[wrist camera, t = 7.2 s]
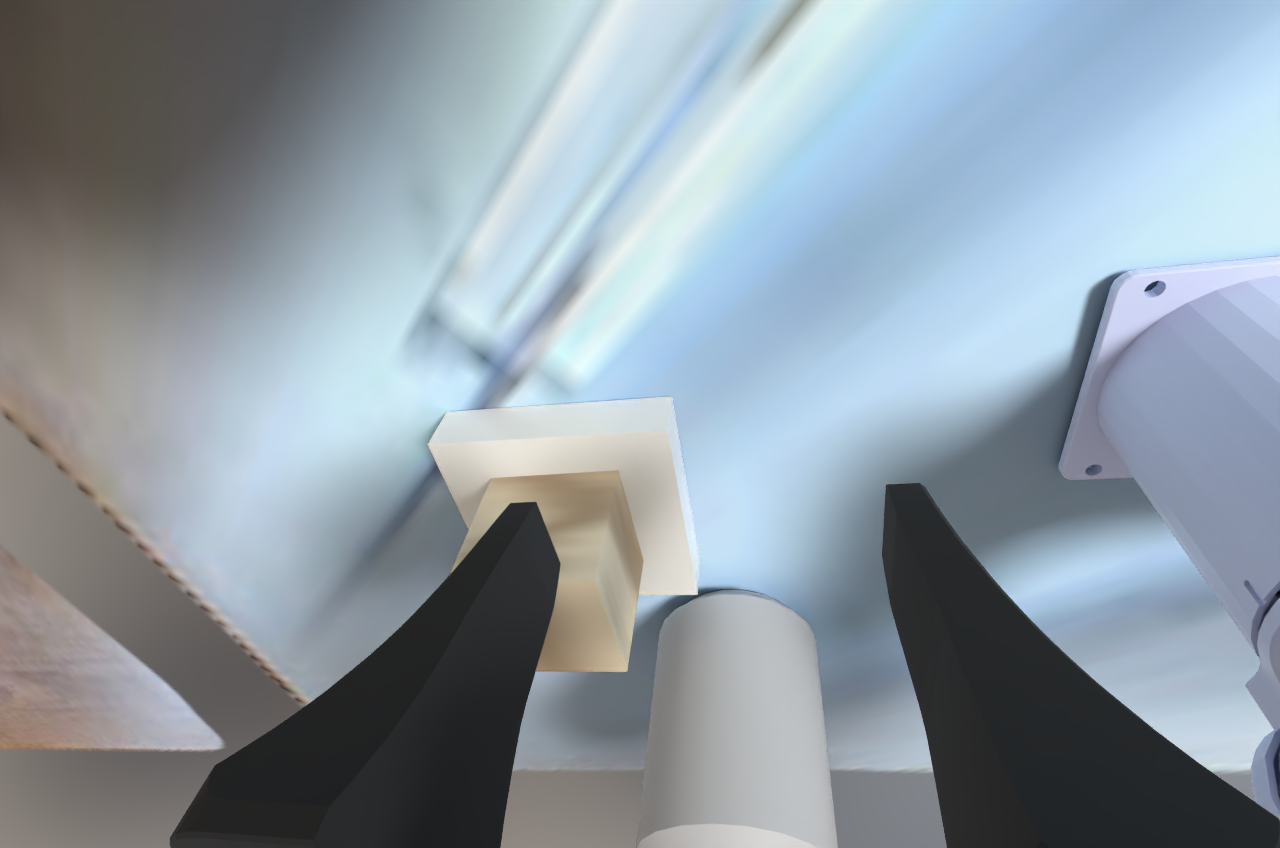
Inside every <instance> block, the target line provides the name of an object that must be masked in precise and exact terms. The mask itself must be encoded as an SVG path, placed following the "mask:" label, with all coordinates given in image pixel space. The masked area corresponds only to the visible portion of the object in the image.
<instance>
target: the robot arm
mask: <svg viewBox="0 0 1280 848" xmlns="http://www.w3.org/2000/svg"><path fill="white" fill-rule="evenodd" d="M1155 281H1159V282H1158V284H1157V285H1156V287H1154V288H1153V289H1152V290H1149V291H1144V290H1145V289H1146V287H1147V286H1148V285H1149V284H1151V283H1152V282H1155ZM1095 464H1096V465H1095ZM1091 465H1095V466H1093V467H1091V468H1087V467H1089V466H1091ZM1058 467H1059V471H1060V472H1061V474H1062V475H1063V477H1064V478H1066V479H1068V480H1092V479H1118V478H1134V479H1135V481H1136V482H1137V484H1138V485H1139V486H1140V488H1141V489H1142V491H1143V492H1144V494H1145V495H1146V496H1147V498H1148V499H1149V501H1150V502H1151V504H1152V505H1153V507H1154V508H1155V509H1156V511H1157V512H1158V514H1159V515H1160V517H1161V518H1162V519H1163V521H1164V522H1165V524H1166V525H1167V527H1168V528H1169V529H1170V531H1171V532H1172V534H1173V535H1174V537H1175V538H1176V540H1177V541H1178V542H1179V544H1180V545H1181V547H1182V548H1183V550H1184V551H1185V552H1186V554H1187V555H1188V557H1189V558H1190V560H1191V561H1192V562H1193V564H1194V565H1195V567H1196V568H1197V570H1198V571H1199V573H1200V574H1201V575H1202V577H1203V578H1204V580H1205V581H1206V583H1207V584H1208V585H1209V587H1210V588H1211V590H1212V591H1213V593H1214V594H1215V595H1216V597H1217V598H1218V600H1219V601H1220V603H1221V604H1222V605H1223V607H1224V608H1225V610H1226V611H1227V613H1228V614H1229V616H1230V617H1231V618H1232V620H1233V621H1234V623H1235V624H1236V626H1237V627H1238V628H1239V630H1240V631H1241V633H1242V634H1243V636H1244V637H1245V638H1246V640H1247V641H1248V643H1249V644H1250V646H1251V647H1252V649H1253V650H1254V651H1255V653H1256V654H1257V655H1258V656H1259V657H1260V667H1259V670H1258V671H1257V673H1256V674H1255V675H1254V676H1253V677H1252V678H1251V679H1250V680H1249V681H1248V682H1247V683H1246V685H1245V686H1246V687H1247V689H1248V691H1249V692H1250V694H1251V695H1252V697H1253V698H1254V700H1255V701H1256V703H1257V704H1258V706H1259V707H1260V709H1261V710H1262V712H1263V713H1264V715H1265V717H1266V718H1267V720H1268V721H1269V723H1270V724H1271V726H1272V727H1273V729H1274V731H1273V732H1271V733H1270V734H1268V735H1267V736H1266V737H1264V739H1263V740H1262V742H1261V743H1260V745H1259V746H1258V748H1257V749H1256V751H1255V754H1254V758H1253V762H1252V766H1251V778H1252V789H1253V793H1254V797H1255V802H1254V801H1253V800H1251V799H1250V798H1248V797H1247V796H1245V795H1244V794H1242V793H1241V792H1240V791H1238V790H1237V789H1235V788H1233V787H1232V786H1231V785H1229V784H1228V783H1226V782H1225V781H1223V780H1222V779H1221V778H1219V777H1218V776H1216V775H1215V774H1213V773H1212V772H1211V771H1209V770H1208V769H1206V768H1205V767H1203V766H1202V765H1201V764H1199V763H1198V762H1197V761H1195V760H1194V759H1193V758H1191V757H1190V756H1189V755H1187V754H1186V753H1185V752H1183V751H1182V750H1181V749H1179V748H1178V747H1177V746H1175V745H1174V744H1173V743H1171V742H1170V741H1169V740H1167V739H1166V738H1165V737H1163V736H1162V735H1161V734H1159V733H1158V732H1157V731H1155V730H1154V729H1153V728H1152V727H1151V726H1149V725H1148V724H1147V723H1146V722H1144V721H1143V720H1142V719H1141V718H1140V717H1138V716H1137V715H1136V714H1135V713H1133V712H1132V711H1131V710H1130V709H1129V708H1127V707H1126V706H1125V705H1124V704H1122V703H1121V702H1120V701H1119V700H1118V699H1116V698H1115V697H1114V696H1113V695H1111V694H1110V693H1109V692H1108V691H1107V690H1105V689H1104V688H1103V687H1102V686H1100V685H1099V684H1098V683H1097V682H1096V681H1095V680H1094V679H1092V678H1091V677H1090V676H1089V675H1088V674H1087V673H1086V672H1085V671H1084V670H1082V669H1081V668H1080V667H1079V666H1078V665H1077V664H1076V663H1075V662H1074V661H1072V660H1071V659H1070V658H1069V657H1068V656H1067V655H1066V654H1065V653H1064V652H1063V651H1062V650H1061V649H1060V648H1059V647H1058V646H1057V645H1055V644H1054V643H1053V642H1052V641H1051V640H1050V639H1049V638H1048V637H1047V636H1046V635H1045V634H1044V633H1043V632H1042V631H1041V630H1040V629H1039V628H1038V627H1037V626H1036V625H1035V624H1034V623H1033V622H1032V621H1031V620H1030V619H1029V618H1028V617H1027V616H1026V614H1025V613H1024V612H1023V611H1022V610H1021V609H1020V608H1019V607H1018V606H1017V605H1016V604H1015V603H1014V602H1013V600H1012V599H1011V598H1010V597H1009V596H1008V595H1007V594H1006V593H1005V592H1004V591H1003V589H1002V588H1001V587H1000V586H999V585H998V584H997V583H996V581H995V580H994V579H993V578H992V577H991V576H990V574H989V573H988V572H987V571H986V570H985V568H984V567H983V566H982V565H981V564H980V562H979V561H978V560H977V559H976V557H975V556H974V555H973V554H972V553H971V551H970V550H969V549H968V548H967V546H966V545H965V544H964V542H963V541H962V540H961V539H960V537H959V536H958V534H957V533H956V532H955V530H954V529H953V528H952V526H951V525H950V524H949V522H948V521H947V520H946V518H945V517H944V515H943V514H942V512H941V511H940V509H939V508H938V507H937V505H936V504H935V502H934V501H933V499H932V497H931V496H930V494H929V493H928V491H927V489H926V488H925V487H924V486H923V485H921V484H920V483H911V484H890V485H886V494H885V512H884V531H883V549H882V557H883V564H884V570H885V576H886V582H887V588H888V594H889V600H890V605H891V609H892V612H893V616H894V619H895V623H896V626H897V630H898V633H899V637H900V640H901V644H902V647H903V651H904V654H905V658H906V661H907V665H908V668H909V672H910V675H911V679H912V682H913V686H914V689H915V693H916V696H917V700H918V703H919V707H920V710H921V714H922V718H923V722H924V726H925V730H926V734H927V739H928V745H929V750H930V755H931V761H932V766H933V771H934V777H935V782H936V788H937V793H938V798H939V805H940V810H941V815H942V822H943V827H944V833H945V838H946V844H947V848H1280V256H1274V257H1264V258H1253V259H1243V260H1232V261H1222V262H1211V263H1200V264H1190V265H1179V266H1169V267H1158V268H1148V269H1137V270H1132V271H1127V272H1125V273H1123V274H1122V275H1120V276H1119V277H1118V278H1117V279H1115V280H1114V282H1113V283H1112V285H1111V287H1110V291H1109V294H1108V297H1107V301H1106V304H1105V308H1104V311H1103V315H1102V318H1101V321H1100V325H1099V328H1098V332H1097V335H1096V338H1095V342H1094V345H1093V349H1092V352H1091V356H1090V359H1089V362H1088V366H1087V369H1086V373H1085V376H1084V379H1083V383H1082V386H1081V390H1080V393H1079V397H1078V400H1077V403H1076V407H1075V410H1074V414H1073V417H1072V420H1071V424H1070V427H1069V431H1068V434H1067V438H1066V441H1065V444H1064V448H1063V451H1062V455H1061V458H1060V461H1059V465H1058ZM560 566H561V563H560V561H559V558H558V555H557V553H556V550H555V548H554V545H553V543H552V540H551V538H550V535H549V533H548V530H547V528H546V525H545V523H544V520H543V518H542V515H541V512H540V510H539V507H538V505H537V502H519V503H510V504H509V505H508V506H507V507H506V509H505V510H504V511H503V512H502V513H501V514H500V516H499V517H498V518H497V519H496V520H495V522H494V523H493V524H492V525H491V526H490V528H489V529H488V530H487V531H486V533H485V534H484V535H483V536H482V537H481V539H480V540H479V541H478V542H477V543H476V545H475V546H474V547H473V548H472V549H471V551H470V552H469V553H468V554H467V555H466V557H465V558H464V559H463V560H462V561H461V562H460V564H459V565H458V566H457V567H456V568H455V569H454V571H453V572H452V573H451V574H450V575H449V576H448V578H447V579H446V580H445V581H444V582H443V583H442V584H441V585H440V586H439V588H438V589H437V590H436V591H435V592H434V593H433V594H432V595H431V596H430V597H429V598H428V599H427V600H426V602H425V603H424V604H423V605H422V606H421V607H420V608H419V609H418V610H417V611H416V612H415V613H414V614H413V615H412V616H411V617H410V618H409V619H408V620H407V621H406V622H405V623H404V624H403V625H402V626H401V627H400V628H399V629H398V630H397V631H396V632H395V633H394V634H393V635H392V636H391V637H389V638H388V639H387V640H386V641H385V642H384V643H383V644H382V645H381V646H380V647H379V648H378V649H376V650H375V651H374V652H373V653H372V654H371V655H370V656H368V657H367V658H366V659H365V660H364V661H362V662H361V663H360V664H359V665H357V666H356V667H355V668H354V669H353V670H351V671H350V672H349V673H348V674H346V675H345V676H344V677H343V678H342V679H340V680H339V681H338V682H337V683H336V684H334V685H333V686H332V687H331V688H329V689H328V690H327V691H325V692H324V693H323V694H321V695H320V696H319V697H317V698H316V699H315V700H313V701H312V702H311V703H309V704H308V705H307V706H305V707H304V708H302V709H301V710H300V711H298V712H297V713H295V714H294V715H292V716H291V717H290V718H288V719H287V720H285V721H284V722H283V723H281V724H280V725H278V726H277V727H275V728H274V729H272V730H271V731H269V732H268V733H266V734H265V735H263V736H261V737H260V738H258V739H257V740H255V741H253V742H252V743H250V744H249V745H247V746H246V747H244V748H242V749H241V750H239V751H238V752H236V753H235V754H233V755H231V756H230V757H228V758H227V759H225V760H223V761H222V762H220V763H218V764H217V765H215V766H214V768H213V770H212V771H211V773H210V774H209V776H208V777H207V779H206V781H205V782H204V784H203V786H202V787H201V789H200V790H199V792H198V794H197V795H196V797H195V798H194V800H193V802H192V803H191V805H190V806H189V808H188V810H187V811H186V813H185V815H184V816H183V818H182V819H181V821H180V823H179V824H178V826H177V828H176V829H175V831H174V832H173V834H172V836H171V837H170V847H171V848H500V846H501V839H502V831H503V824H504V817H505V810H506V804H507V798H508V792H509V786H510V780H511V774H512V768H513V763H514V758H515V753H516V747H517V742H518V737H519V731H520V726H521V722H522V718H523V714H524V710H525V706H526V702H527V699H528V695H529V692H530V688H531V685H532V682H533V678H534V675H535V671H536V668H537V665H538V661H539V658H540V655H541V651H542V648H543V644H544V641H545V638H546V634H547V631H548V627H549V624H550V620H551V617H552V613H553V609H554V604H555V599H556V593H557V587H558V580H559V573H560Z"/></svg>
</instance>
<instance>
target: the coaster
mask: <svg viewBox="0 0 1280 848" xmlns="http://www.w3.org/2000/svg"><path fill="white" fill-rule="evenodd" d="M428 447H429V449H430V451H431V453H432V455H433V457H434V459H435V461H436V463H437V465H438V467H439V470H440V472H441V474H442V476H443V478H444V480H445V482H446V484H447V486H448V488H449V491H450V493H451V495H452V497H453V499H454V501H455V503H456V505H457V507H458V509H459V511H460V514H461V516H462V518H463V520H464V522H465V524H466V526H467V528H468V530H469V528H470V526H471V524H472V521H473V519H474V517H475V514H476V512H477V510H478V508H479V505H480V503H481V501H482V499H483V496H484V494H485V492H486V489H487V487H488V485H489V483H490V480H491V478H500V477H516V476H533V475H549V474H566V473H582V472H598V471H615V470H619V474H620V477H621V481H622V484H623V488H624V492H625V495H626V499H627V502H628V506H629V510H630V513H631V517H632V520H633V524H634V528H635V531H636V535H637V538H638V542H639V545H640V549H641V553H642V556H643V560H644V562H643V568H642V575H641V582H640V589H639V595H698V582H699V566H700V556H699V550H698V544H697V538H696V532H695V527H694V521H693V515H692V509H691V503H690V497H689V492H688V486H687V480H686V474H685V468H684V462H683V457H682V451H681V445H680V439H679V433H678V428H677V422H676V416H675V410H674V404H673V398H672V396H669V397H655V398H640V399H626V400H611V401H597V402H582V403H568V404H554V405H539V406H525V407H510V408H496V409H481V410H467V411H452V412H446V414H445V415H444V417H443V419H442V421H441V422H440V424H439V426H438V427H437V429H436V431H435V433H434V434H433V436H432V438H431V439H430V441H429V443H428Z"/></svg>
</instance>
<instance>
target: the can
mask: <svg viewBox="0 0 1280 848" xmlns="http://www.w3.org/2000/svg"><path fill="white" fill-rule="evenodd" d="M636 848H838V847H837V837H836V827H835V817H834V808H833V798H832V790H831V779H830V770H829V760H828V751H827V741H826V732H825V722H824V713H823V704H822V694H821V685H820V675H819V666H818V656H817V647H816V637H815V636H814V634H813V632H812V630H811V628H810V626H809V624H808V623H807V622H806V621H805V620H804V619H803V618H801V617H800V616H799V615H798V614H797V613H796V612H794V611H793V610H791V609H789V608H787V607H785V606H784V605H783V604H782V603H780V602H779V601H777V600H775V599H772V598H770V597H768V596H766V595H764V594H760V593H755V592H750V591H745V590H720V591H715V592H710V593H705V594H703V595H701V596H699V597H696V598H694V599H692V600H690V601H689V602H688V603H686V604H684V605H682V606H680V607H678V608H676V609H675V610H674V611H673V612H672V613H671V614H670V615H669V616H668V617H667V618H666V619H665V620H664V622H663V625H662V628H661V630H660V633H659V641H658V650H657V659H656V668H655V677H654V686H653V695H652V704H651V714H650V723H649V732H648V741H647V750H646V759H645V768H644V777H643V786H642V795H641V804H640V813H639V822H638V831H637V840H636Z"/></svg>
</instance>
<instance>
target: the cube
mask: <svg viewBox="0 0 1280 848" xmlns="http://www.w3.org/2000/svg"><path fill="white" fill-rule="evenodd" d="M519 502H537V505H538V507H539V510H540V512H541V515H542V518H543V520H544V523H545V525H546V528H547V530H548V533H549V535H550V538H551V540H552V543H553V545H554V548H555V550H556V553H557V555H558V558H559V561H560V563H561V566H560V573H559V580H558V587H557V593H556V599H555V604H554V609H553V613H552V617H551V620H550V624H549V627H548V631H547V634H546V638H545V641H544V644H543V648H542V651H541V655H540V658H539V661H538V665H537V668H536V671H552V672H627V670H628V663H629V657H630V650H631V643H632V636H633V629H634V623H635V616H636V609H637V602H638V596H639V589H640V582H641V575H642V568H643V562H644V560H643V556H642V553H641V549H640V545H639V542H638V538H637V535H636V531H635V528H634V524H633V520H632V517H631V513H630V510H629V506H628V502H627V499H626V495H625V492H624V488H623V484H622V481H621V477H620V474H619V470H615V471H598V472H582V473H566V474H549V475H533V476H516V477H500V478H491V480H490V483H489V485H488V487H487V489H486V492H485V494H484V496H483V499H482V501H481V503H480V505H479V508H478V510H477V512H476V514H475V517H474V519H473V521H472V524H471V526H470V528H469V530H468V533H467V535H466V537H465V540H464V542H463V544H462V546H461V549H460V551H459V553H458V556H457V558H456V560H455V562H454V565H453V567H452V569H451V572H450V574H451V573H452V572H453V571H454V569H455V568H456V567H457V566H458V565H459V564H460V562H461V561H462V560H463V559H464V558H465V557H466V555H467V554H468V553H469V552H470V551H471V549H472V548H473V547H474V546H475V545H476V543H477V542H478V541H479V540H480V539H481V537H482V536H483V535H484V534H485V533H486V531H487V530H488V529H489V528H490V526H491V525H492V524H493V523H494V522H495V520H496V519H497V518H498V517H499V516H500V514H501V513H502V512H503V511H504V510H505V509H506V507H507V506H508V505H509V504H510V503H519ZM450 574H449V575H450Z"/></svg>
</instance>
